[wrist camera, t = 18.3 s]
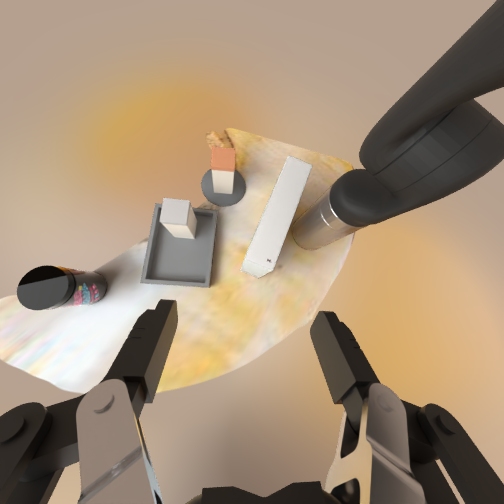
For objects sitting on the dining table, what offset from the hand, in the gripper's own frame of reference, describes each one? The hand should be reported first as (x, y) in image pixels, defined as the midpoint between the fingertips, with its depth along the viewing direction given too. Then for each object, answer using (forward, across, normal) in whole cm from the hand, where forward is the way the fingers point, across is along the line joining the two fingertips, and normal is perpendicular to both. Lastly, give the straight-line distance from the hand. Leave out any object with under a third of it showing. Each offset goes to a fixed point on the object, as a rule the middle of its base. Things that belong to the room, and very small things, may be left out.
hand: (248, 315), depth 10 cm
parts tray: (+31, +12, +15) cm, 36 cm away
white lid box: (+33, +12, +12) cm, 37 cm away
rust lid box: (+42, +4, +3) cm, 42 cm away
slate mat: (+42, +4, +3) cm, 43 cm away
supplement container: (+23, +29, +23) cm, 44 cm away
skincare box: (+34, -7, +12) cm, 37 cm away
